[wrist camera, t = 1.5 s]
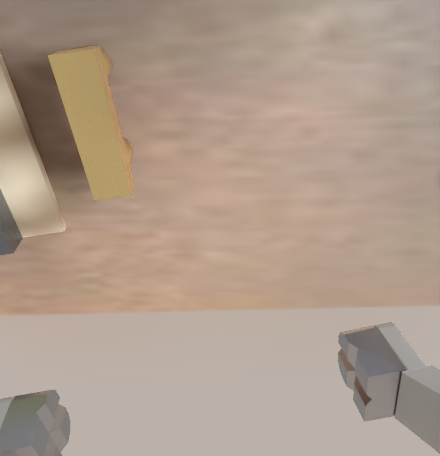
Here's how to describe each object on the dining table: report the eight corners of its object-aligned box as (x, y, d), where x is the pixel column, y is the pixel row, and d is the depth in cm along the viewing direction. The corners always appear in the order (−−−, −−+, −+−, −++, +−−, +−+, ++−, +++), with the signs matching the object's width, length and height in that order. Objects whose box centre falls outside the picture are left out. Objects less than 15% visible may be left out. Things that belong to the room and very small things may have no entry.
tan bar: (70, 45, 29) (47, 55, 23) (107, 40, 29) (93, 49, 23) (106, 168, 34) (94, 200, 28) (137, 164, 34) (131, 194, 28)
